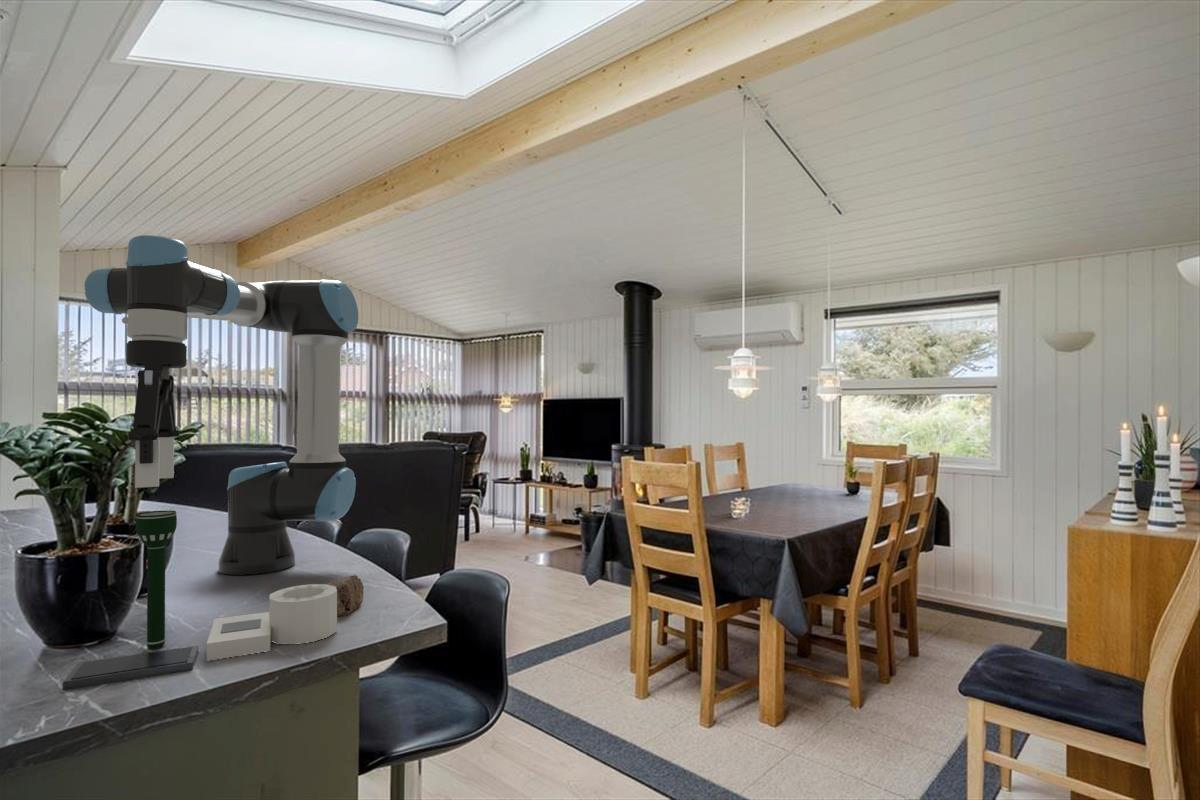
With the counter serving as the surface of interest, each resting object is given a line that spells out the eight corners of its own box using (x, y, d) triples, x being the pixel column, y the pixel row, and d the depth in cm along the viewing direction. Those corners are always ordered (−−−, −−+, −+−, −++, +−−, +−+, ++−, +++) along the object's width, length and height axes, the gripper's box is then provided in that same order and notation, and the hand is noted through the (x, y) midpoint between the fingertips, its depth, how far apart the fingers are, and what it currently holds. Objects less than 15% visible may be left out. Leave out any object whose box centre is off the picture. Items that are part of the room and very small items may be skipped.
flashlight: (132, 646, 96) (132, 513, 97) (172, 638, 100) (172, 509, 100) (138, 656, 93) (139, 517, 93) (179, 646, 96) (180, 512, 97)
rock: (357, 618, 110) (357, 584, 110) (292, 623, 108) (292, 589, 108) (364, 593, 125) (364, 563, 125) (307, 597, 122) (307, 567, 122)
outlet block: (214, 634, 102) (214, 593, 102) (333, 618, 109) (333, 579, 109) (206, 661, 91) (206, 615, 91) (339, 641, 98) (339, 598, 99)
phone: (78, 669, 88) (78, 661, 88) (198, 652, 94) (198, 644, 94) (62, 689, 82) (62, 681, 82) (192, 669, 88) (192, 661, 88)
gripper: (143, 347, 106) (141, 476, 106) (106, 330, 84) (104, 492, 84) (196, 349, 110) (195, 474, 109) (174, 333, 87) (172, 489, 87)
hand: (155, 482), depth 97 cm, fingers open, 13 cm apart
